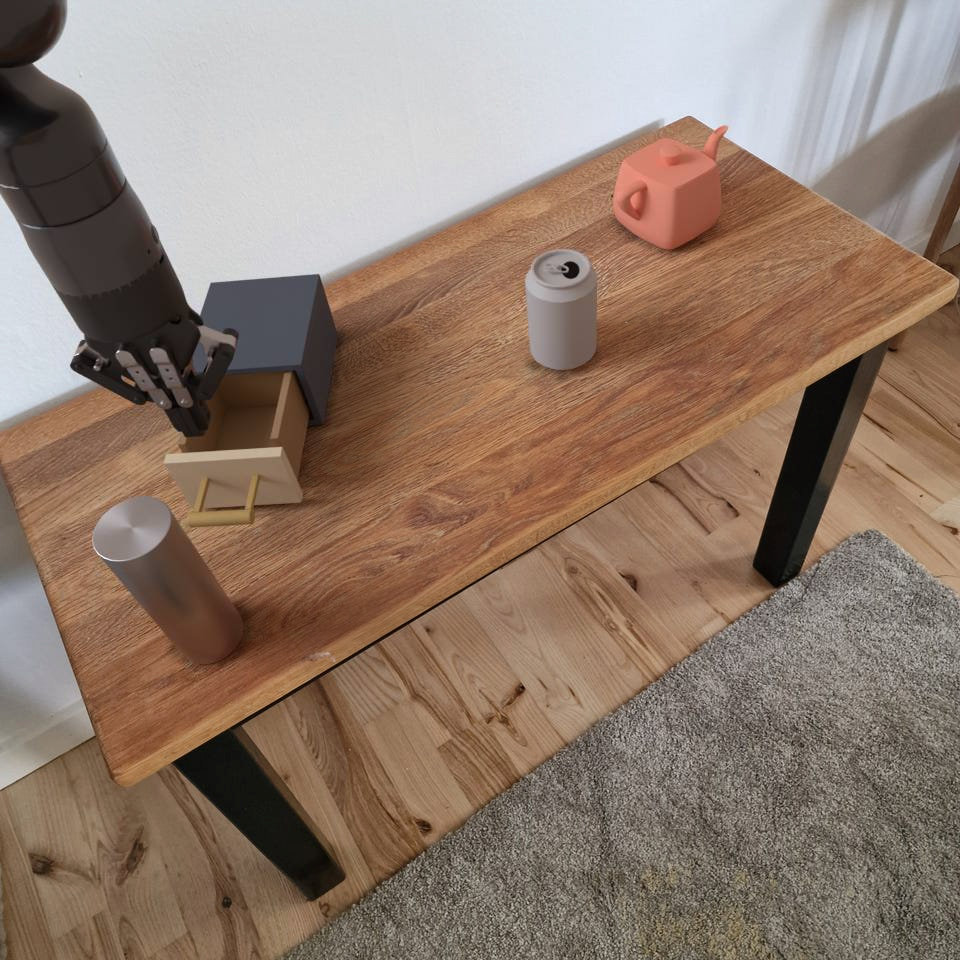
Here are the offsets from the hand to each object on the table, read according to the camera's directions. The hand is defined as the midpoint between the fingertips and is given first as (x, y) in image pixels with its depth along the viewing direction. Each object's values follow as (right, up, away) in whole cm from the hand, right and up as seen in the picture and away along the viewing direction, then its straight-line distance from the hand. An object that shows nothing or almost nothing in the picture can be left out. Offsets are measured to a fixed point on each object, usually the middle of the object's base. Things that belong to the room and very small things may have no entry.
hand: (198, 429), depth 68 cm
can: (+33, +10, +26) cm, 43 cm away
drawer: (0, -4, +17) cm, 18 cm away
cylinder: (-1, -18, +7) cm, 20 cm away
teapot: (+48, +29, +39) cm, 68 cm away
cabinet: (0, +7, +27) cm, 28 cm away
